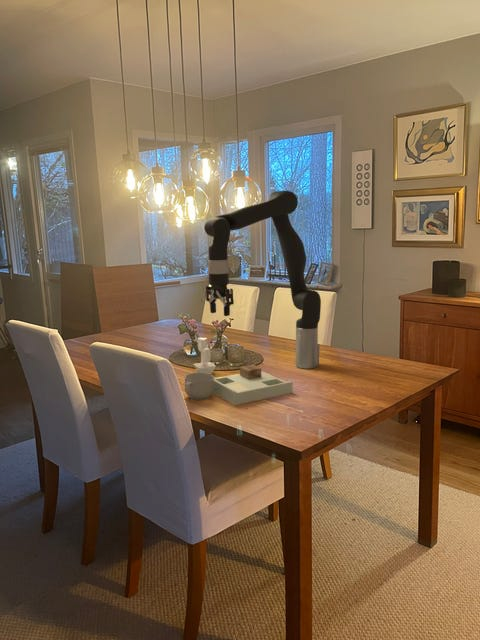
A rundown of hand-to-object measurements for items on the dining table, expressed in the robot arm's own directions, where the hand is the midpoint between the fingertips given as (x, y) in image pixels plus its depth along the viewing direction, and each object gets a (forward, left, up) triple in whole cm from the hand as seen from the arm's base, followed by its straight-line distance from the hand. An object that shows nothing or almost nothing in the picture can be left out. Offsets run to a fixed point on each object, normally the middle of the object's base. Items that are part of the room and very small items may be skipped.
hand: (219, 314), depth 204 cm
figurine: (0, -15, -28) cm, 32 cm away
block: (-9, +7, -24) cm, 27 cm away
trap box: (-5, +12, -27) cm, 30 cm away
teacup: (+16, +11, -28) cm, 34 cm away
